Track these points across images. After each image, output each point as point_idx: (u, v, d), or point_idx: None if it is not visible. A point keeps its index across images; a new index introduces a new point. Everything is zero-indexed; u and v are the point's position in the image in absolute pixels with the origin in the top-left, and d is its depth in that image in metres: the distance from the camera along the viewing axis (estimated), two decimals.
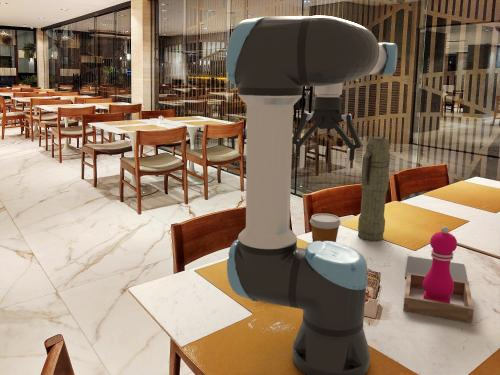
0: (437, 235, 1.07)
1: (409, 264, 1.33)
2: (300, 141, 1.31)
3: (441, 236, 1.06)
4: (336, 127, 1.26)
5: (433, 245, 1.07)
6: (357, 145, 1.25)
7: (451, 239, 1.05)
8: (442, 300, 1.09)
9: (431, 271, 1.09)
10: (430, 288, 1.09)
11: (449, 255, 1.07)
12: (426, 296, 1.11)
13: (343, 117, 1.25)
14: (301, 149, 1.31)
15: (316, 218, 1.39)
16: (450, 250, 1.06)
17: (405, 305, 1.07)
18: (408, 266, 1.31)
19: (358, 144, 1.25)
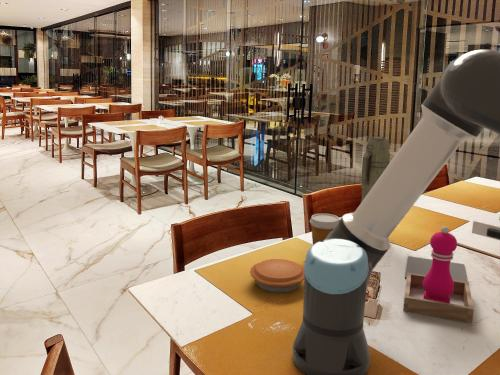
0: (437, 235, 1.07)
1: (409, 264, 1.33)
2: None
3: (441, 236, 1.06)
4: None
5: (433, 245, 1.07)
6: None
7: (451, 239, 1.05)
8: (442, 300, 1.09)
9: (431, 271, 1.09)
10: (430, 288, 1.09)
11: (449, 255, 1.07)
12: (426, 296, 1.11)
13: None
14: None
15: (316, 218, 1.39)
16: (450, 250, 1.06)
17: (405, 305, 1.07)
18: (408, 266, 1.31)
19: None
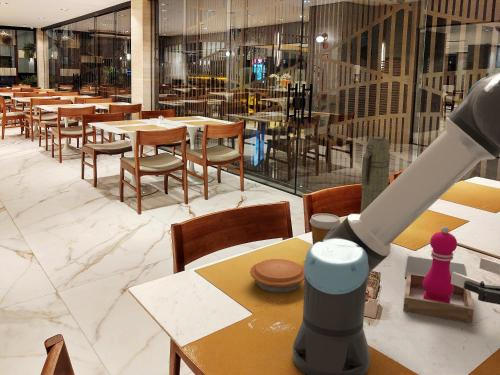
0: (437, 235, 1.07)
1: (409, 264, 1.33)
2: None
3: (441, 236, 1.06)
4: None
5: (433, 245, 1.07)
6: (483, 288, 0.93)
7: (451, 239, 1.05)
8: (442, 300, 1.09)
9: (431, 271, 1.09)
10: (430, 288, 1.09)
11: (449, 255, 1.07)
12: (426, 296, 1.11)
13: None
14: None
15: (316, 218, 1.39)
16: (450, 250, 1.06)
17: (405, 305, 1.07)
18: (408, 266, 1.31)
19: (484, 289, 0.93)
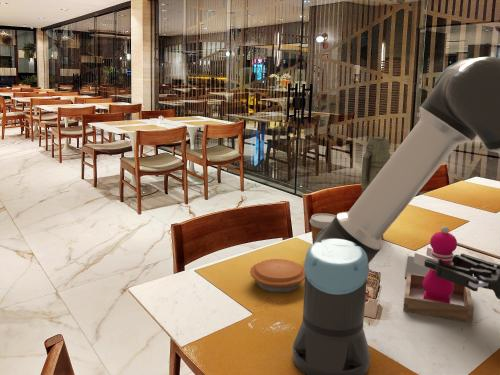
0: (437, 235, 1.07)
1: (409, 264, 1.33)
2: (460, 256, 1.09)
3: (441, 236, 1.06)
4: (474, 269, 1.01)
5: (433, 245, 1.07)
6: (440, 265, 1.04)
7: (451, 239, 1.05)
8: (442, 300, 1.09)
9: (431, 271, 1.09)
10: (430, 288, 1.09)
11: (449, 255, 1.07)
12: (426, 296, 1.11)
13: (479, 281, 0.98)
14: None
15: (315, 218, 1.39)
16: (450, 250, 1.06)
17: (405, 305, 1.07)
18: (408, 266, 1.31)
19: (440, 266, 1.03)
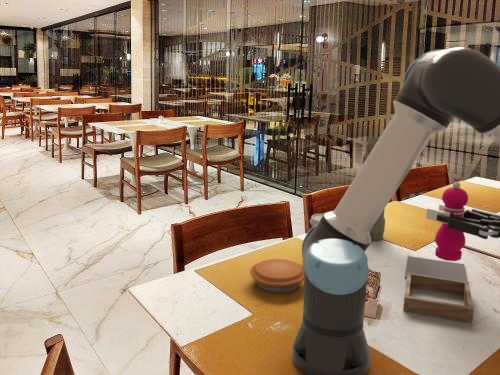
0: (449, 190, 1.12)
1: (409, 264, 1.33)
2: (471, 211, 1.13)
3: (453, 190, 1.11)
4: (484, 220, 1.05)
5: (445, 199, 1.12)
6: (452, 218, 1.08)
7: (462, 193, 1.10)
8: (454, 253, 1.13)
9: (443, 225, 1.14)
10: (442, 241, 1.13)
11: (460, 209, 1.11)
12: (438, 250, 1.16)
13: (489, 230, 1.02)
14: None
15: (316, 218, 1.39)
16: (461, 204, 1.10)
17: (405, 305, 1.07)
18: (408, 266, 1.31)
19: (452, 218, 1.08)
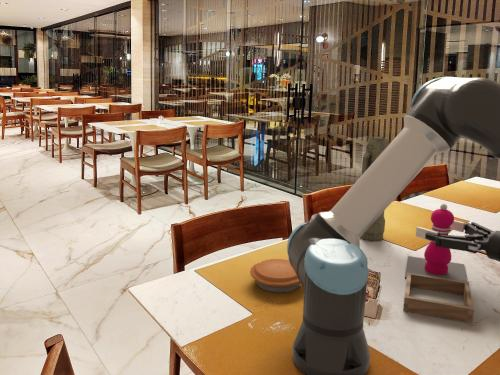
0: (437, 211, 1.24)
1: (409, 264, 1.33)
2: (470, 224, 1.26)
3: (440, 212, 1.23)
4: (469, 235, 1.16)
5: (433, 220, 1.24)
6: (439, 237, 1.16)
7: (449, 215, 1.22)
8: (441, 268, 1.26)
9: (431, 243, 1.26)
10: (430, 257, 1.26)
11: (447, 228, 1.23)
12: (427, 265, 1.28)
13: None
14: (461, 222, 1.28)
15: None
16: (448, 224, 1.22)
17: (405, 305, 1.07)
18: (408, 266, 1.31)
19: (440, 237, 1.16)
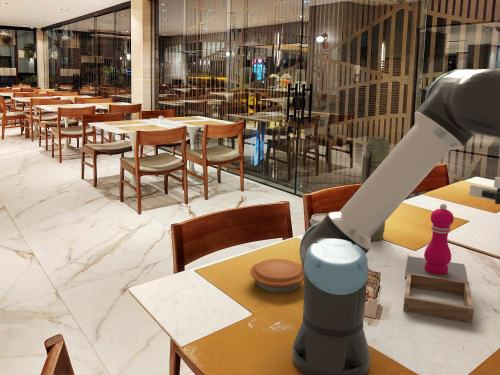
0: (436, 211, 1.24)
1: (409, 264, 1.33)
2: None
3: (440, 212, 1.23)
4: None
5: (433, 219, 1.24)
6: None
7: (449, 214, 1.22)
8: (441, 268, 1.26)
9: (431, 243, 1.26)
10: (430, 257, 1.26)
11: (447, 228, 1.24)
12: (427, 265, 1.28)
13: None
14: None
15: (316, 218, 1.39)
16: (448, 224, 1.23)
17: (405, 305, 1.07)
18: (408, 266, 1.31)
19: None
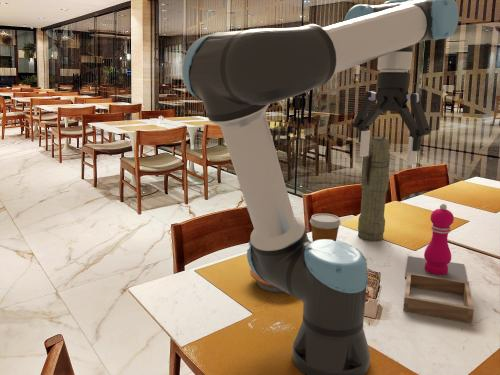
0: (436, 211, 1.24)
1: (409, 264, 1.33)
2: (361, 125, 1.13)
3: (440, 212, 1.23)
4: (398, 109, 1.04)
5: (433, 219, 1.24)
6: (421, 132, 1.01)
7: (449, 214, 1.22)
8: (441, 268, 1.26)
9: (431, 243, 1.26)
10: (430, 257, 1.26)
11: (447, 228, 1.24)
12: (427, 265, 1.28)
13: (408, 97, 1.03)
14: (362, 134, 1.13)
15: (316, 218, 1.39)
16: (448, 224, 1.23)
17: (405, 305, 1.07)
18: (408, 266, 1.31)
19: (422, 131, 1.01)
